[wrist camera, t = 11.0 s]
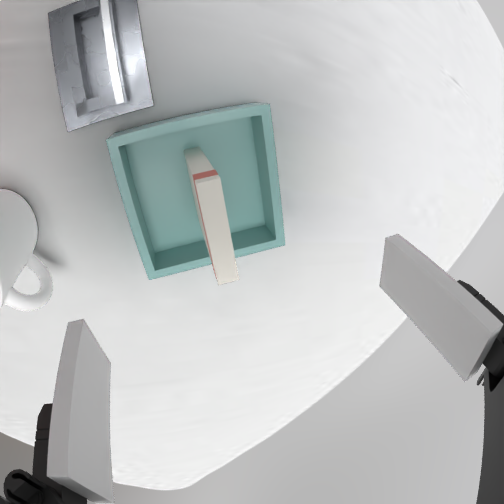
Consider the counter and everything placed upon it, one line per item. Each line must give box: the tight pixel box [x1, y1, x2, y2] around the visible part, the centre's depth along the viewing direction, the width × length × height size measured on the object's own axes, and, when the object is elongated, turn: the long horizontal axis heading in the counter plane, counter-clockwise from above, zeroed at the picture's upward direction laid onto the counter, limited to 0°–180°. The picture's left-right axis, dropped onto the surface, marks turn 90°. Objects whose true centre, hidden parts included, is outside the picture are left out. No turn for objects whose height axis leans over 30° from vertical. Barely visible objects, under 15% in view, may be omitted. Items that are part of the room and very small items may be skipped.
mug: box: [0, 189, 53, 311], centre depth 21 cm, size 12×8×10 cm
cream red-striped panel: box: [184, 146, 239, 285], centre depth 24 cm, size 7×1×11 cm, turn 8°
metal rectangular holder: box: [48, 0, 154, 132], centre depth 19 cm, size 12×8×3 cm, turn 8°
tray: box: [106, 102, 285, 280], centre depth 27 cm, size 13×13×4 cm
